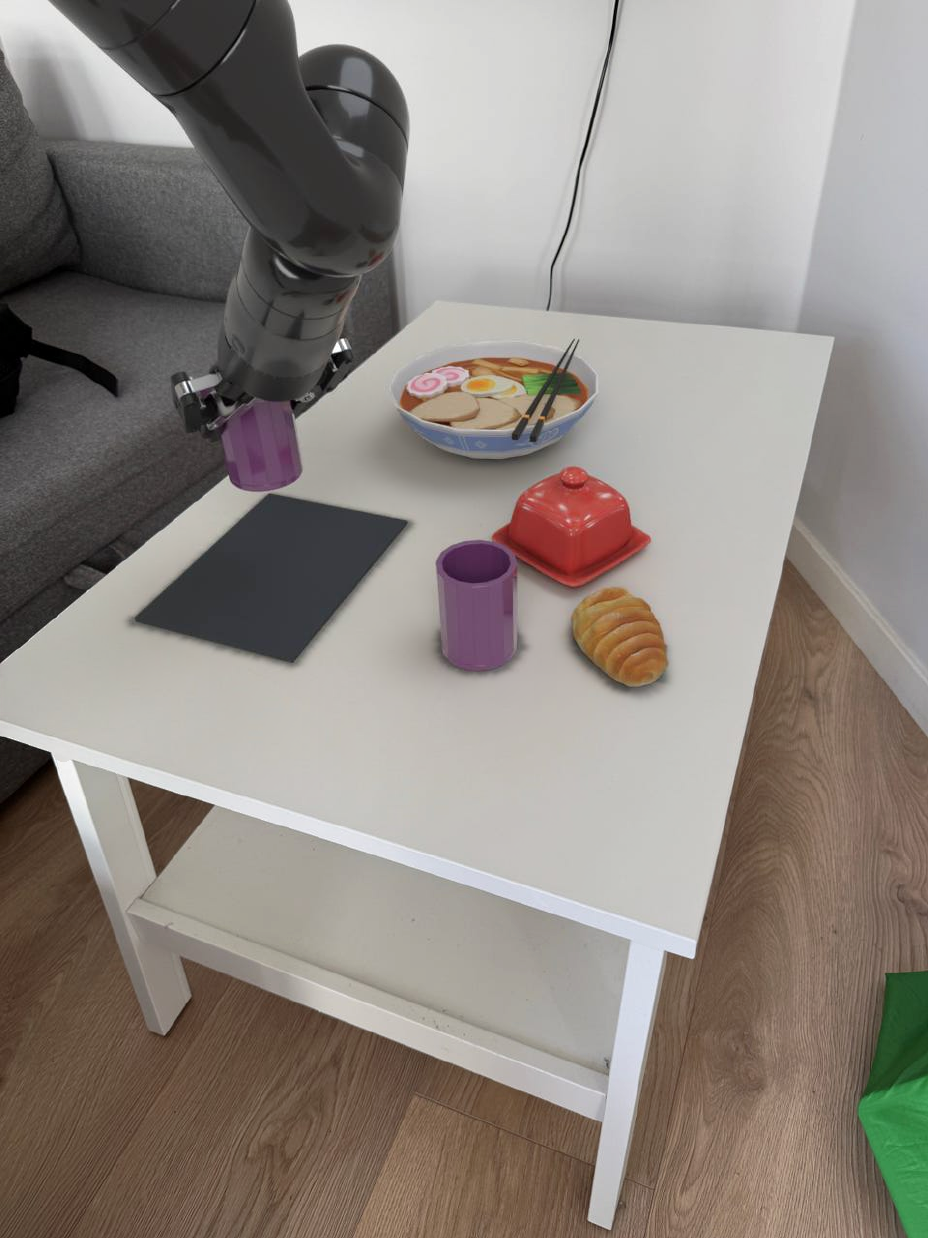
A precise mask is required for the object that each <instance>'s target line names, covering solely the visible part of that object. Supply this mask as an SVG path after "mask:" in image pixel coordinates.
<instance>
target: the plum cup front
mask: <svg viewBox="0 0 928 1238" xmlns="http://www.w3.org/2000/svg"><path fill="white" fill-rule="evenodd" d="M235 402H237V401H235ZM214 403H215V405H216V408H217V410H218V406H217V404H216V402H215V400H214ZM219 442H220V446H221V451H222V456H223V461H224V463H225V468H226V471H227V472H226V473H227V475H228V478H229V481H230V483H231V484H232V486H234V487H235V488H237V489H239V490H241V491H245V492H250V493H251V492H252V493H263V492H271V491H275V490H279V489H283V488H285V487H287V486H290V485H291V484H293V483H295V482H296V481H297V480H298V479H299V478H300V477H301V476H302V474H303V471H304V466H303V457H302V451H301V444H300V440H299V434H298V428H297V423H296V418H295V416H294V410H293V405H292V400H290V401H284V402H272V401H266V400H264V401H263V402H262V403H261V404H255V405H254V406H253V407H251V408H250V409H249V410H248V411H247V412H246V413H245V414H243V415H242V416H241V417H240V418H237V419H228V420H227V421H226V422H225V423H224V427H223V431H222V434H221V438H220V441H219Z"/></svg>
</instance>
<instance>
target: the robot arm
mask: <svg viewBox="0 0 928 1238" xmlns="http://www.w3.org/2000/svg"><path fill="white" fill-rule="evenodd" d="M47 1H48V2H49V3H50V4H51V5H52V6H53V7H54V8H55V9H56V10H57V11H58V12H59V13H60V14H62V15H63V16H64V18H66V19H67V20H68V21H69V22H70V23H71V24H72V25H73V26H75V27H76V28H77V29H78V31H80V32H81V33H82V34H83V35H84V36H85V37H86V38H87V39H89V40H90V41H91V43H93V44H94V45H95V46H97V48H98V49H99V50H100V51H101V52H103V53H104V54H105V55H106V56H107V57H109V59H110V60H112V61H113V62H114V63H115V64H116V65H118V67H120V68H121V69H122V70H123V71H124V72H125V73H126V74H127V75H129V77H131V78H132V79H133V80H134V81H135V82H136V83H137V84H138V85H140V86H141V87H142V88H143V89H144V90H145V91H146V92H148V93H149V94H150V95H151V97H153V98H154V99H156V100H157V101H158V102H159V103H160V104H161V105H162V106H164V108H166V109H167V110H168V111H169V112H170V113H171V114H172V115H173V117H174V118H175V119H176V120H177V122H178V124H179V125H180V126H181V128H182V129H183V131H184V133H185V135H186V137H187V138H188V139H189V141H190V143H191V144H192V146H193V148H194V149H195V151H196V152H197V154H198V155H199V157H200V158H201V159H202V161H203V163H204V164H205V165H206V166H207V168H208V169H209V170H210V172H211V173H212V175H213V176H214V178H215V179H216V180H217V182H218V183H219V185H220V186H221V188H222V189H223V190H224V192H225V193H226V194H227V196H228V198H229V199H230V201H231V202H232V204H234V206H235V207H236V209H237V210H238V212H239V213H240V214H241V216H242V217H243V218H244V220H245V221H246V222H247V223H248V227H247V230H246V232H245V236H244V240H243V242H242V248H241V252H240V255H239V260H238V265H237V268H236V270H235V272H234V274H233V277H232V279H231V280H230V284H229V287H228V291H227V295H226V299H225V304H224V309H223V315H222V319H221V323H220V328H219V332H218V338H217V360H216V361H215V362H213V364H212V365H211V366H210V367H209V369H208V374H205V375H203V376H199V377H195V378H194V376H189V375H188V373H187V372H186V371H179V372H175V373H174V374H172V375H171V376H170V377H169V381H170V387H171V394H172V401H173V405H174V407H175V410H176V411H177V413H178V415H179V417H180V420H181V422H182V425H183V428H184V430H185V433H186V434H195V433H197V432H199V434H200V436H201V437H202V439H203V440H204V441H205V440H208V441H209V442H210V443H211V444H214V443H217V442H220V438H221V434H222V431H223V427H224V423H225V422H226V421H227V420H228V419H237V418H240V417H241V416H242V415H243V414H245V413H246V412H247V411H248V410H249V409H250V408H251V407H253V406H254V405H255V404H261V403H262V402H263V401H264V400H266V401H272V402H284V401H290V400H292V405H293V410H294V416H295V419H296V418H298V417H299V416H300V413H301V411H302V410H304V408H306V405H307V403H308V402H311V401H312V400H313V399H314V398H315V397H316V396H315V394H314V393H315V392H317V391H320V390H321V392H322V394H327V393H328V394H329V393H332V392H334V390H335V389H337V387H338V386H339V384H340V383H341V382H342V380H343V379H344V377H345V376H346V375H347V373H348V372H349V371H350V369H351V367H352V366H353V365H354V363H355V362H356V361H357V358H356V356H355V353H354V351H353V350H352V347H351V345H350V342H349V340H348V338H347V335H346V333H345V332H344V326H345V321H346V315H347V313H348V310H349V308H350V306H351V304H352V302H353V300H354V297H355V295H356V293H357V291H358V288H359V286H360V283H361V279H362V277H363V275H365V274H366V273H368V272H371V271H372V270H373V269H375V268H376V267H378V266H379V265H380V264H381V263H382V262H384V261H385V259H386V258H387V257H388V256H389V254H390V253H391V251H392V249H393V247H394V245H395V242H396V240H397V237H398V233H399V229H400V224H401V219H402V218H401V217H402V209H403V199H404V198H403V197H404V189H405V182H406V181H405V180H406V172H407V171H406V170H407V161H408V155H409V143H410V133H411V132H410V131H411V124H410V123H411V122H410V111H409V108H408V103H407V100H406V96H405V93H404V91H403V89H402V87H401V85H400V83H399V81H398V80H397V78H396V76H395V75H394V74H393V72H392V71H391V70H390V69H389V68H388V66H387V65H386V64H385V63H384V62H383V61H382V60H380V59H379V58H378V57H376V56H375V55H374V54H372V53H370V52H369V51H367V50H365V49H362V48H360V47H357V46H354V45H350V44H344V43H343V44H342V43H333V44H331V43H330V44H325V45H324V44H323V45H320V46H316V47H315V48H314V47H313V48H312V49H310V50H307V51H306V52H304V53H302V54H301V55H299V50H298V38H297V29H296V23H295V19H294V13H293V10H292V7H291V4H290V2H289V0H47ZM214 400H215V402H216V404H217V406H218V410H217V408H216V405H215V403H214ZM235 401H237V402H235Z"/></svg>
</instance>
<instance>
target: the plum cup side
mask: <svg viewBox="0 0 928 1238" xmlns="http://www.w3.org/2000/svg"><path fill="white" fill-rule="evenodd" d="M516 557H517V556H515V554H514V553H513V552H512V551H511V550H510V549H509V548H508V547H506V546H503V545H501V544H499V543H496V542H494V541H493V540H492V541H491V540H486V539H472V540H463V541H460V542H457V543H454V544H451V545H449V546H448V547H447V548H445V549H444V550H442V551H441V552H440V553H439V555H438V557H437V558H436V560H435V573H436V587H437V599H438V614H439V615H438V616H439V627H440V639H441V650H442V653H443V656H444V658H445V659H446V660H447V661H448V662H449V663H450V664H452V665H453V666H455V667H457V668H459V669H463V670H466V671H473V672H484V671H490V670H494V669H497V668H500V667H502V666H504V665H505V664H507V663H508V662H509V661H510V660H511V659H513V657H514V656H515V654H516V652H517V649H518V648H517V647H518V561H517V558H516Z"/></svg>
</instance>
